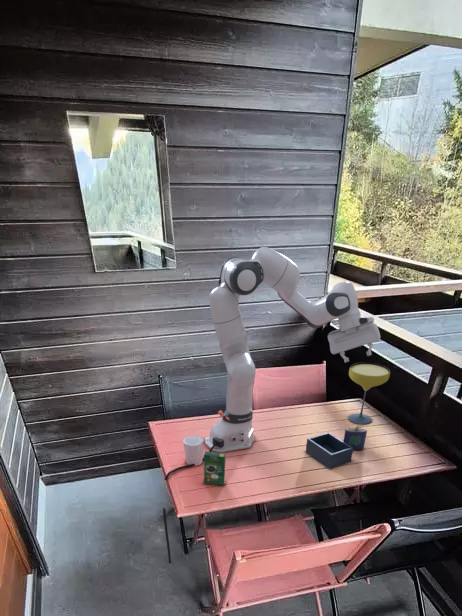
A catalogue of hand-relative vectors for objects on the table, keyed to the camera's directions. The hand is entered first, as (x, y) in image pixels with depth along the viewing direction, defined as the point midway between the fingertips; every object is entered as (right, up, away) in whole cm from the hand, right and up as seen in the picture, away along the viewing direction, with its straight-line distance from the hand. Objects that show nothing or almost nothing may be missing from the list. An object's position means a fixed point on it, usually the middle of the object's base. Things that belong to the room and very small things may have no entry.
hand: (358, 358), depth 182 cm
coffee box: (-59, -52, -12) cm, 80 cm away
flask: (+1, -36, +10) cm, 37 cm away
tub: (-12, -40, +4) cm, 42 cm away
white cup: (-68, -43, 0) cm, 80 cm away
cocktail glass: (+10, -19, +33) cm, 39 cm away
